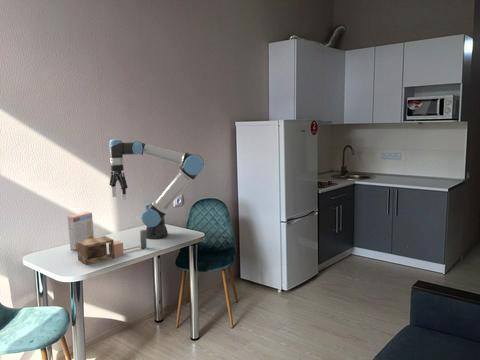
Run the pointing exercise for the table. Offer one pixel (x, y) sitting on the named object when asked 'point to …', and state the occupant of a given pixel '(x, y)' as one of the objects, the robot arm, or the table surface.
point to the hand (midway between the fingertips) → (119, 198)
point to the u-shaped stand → (119, 247)
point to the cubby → (94, 250)
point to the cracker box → (80, 228)
